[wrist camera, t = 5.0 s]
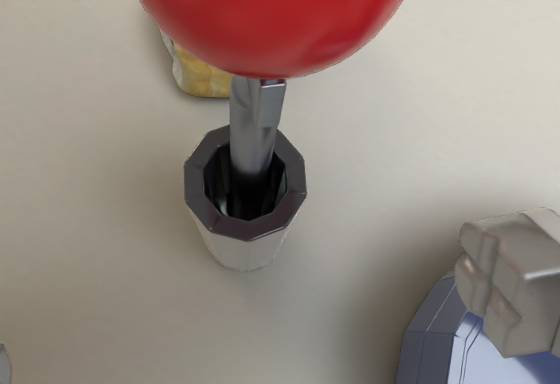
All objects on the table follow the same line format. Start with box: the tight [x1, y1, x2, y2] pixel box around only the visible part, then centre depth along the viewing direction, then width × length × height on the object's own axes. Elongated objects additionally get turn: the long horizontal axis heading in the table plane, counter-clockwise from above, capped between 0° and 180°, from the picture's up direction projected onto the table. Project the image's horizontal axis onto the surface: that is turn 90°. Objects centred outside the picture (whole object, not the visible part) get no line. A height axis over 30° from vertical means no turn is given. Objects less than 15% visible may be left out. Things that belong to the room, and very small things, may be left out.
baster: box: [139, 0, 403, 221], centre depth 14 cm, size 4×4×19 cm
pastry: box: [160, 29, 232, 98], centre depth 24 cm, size 9×7×4 cm
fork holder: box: [184, 125, 307, 272], centre depth 19 cm, size 4×4×9 cm
